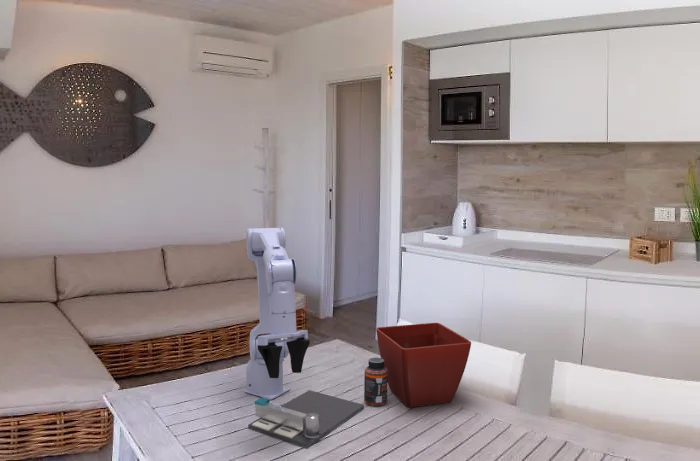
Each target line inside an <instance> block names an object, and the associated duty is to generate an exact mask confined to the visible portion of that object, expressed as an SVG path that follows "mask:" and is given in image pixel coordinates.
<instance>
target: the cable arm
mask: <svg viewBox="0 0 700 461" xmlns="http://www.w3.org/2000/svg"><path fill="white" fill-rule="evenodd" d="M270 401H271V400H270V399H267V398H263V397H260V398H258V399H255V400H254V405H255V406H254V413H255V417H258V418H264V419H267V420H270V421H273V422H276V423H279V424H282V425H286V426H289V427H292V428H295V429H298V430H301V431H304V430H305V429H306V415H307V414H304V413H301V412H298V411H294V410H291V409H288V408H284V407H281V406H282V405H277V404H273V403H270Z"/></svg>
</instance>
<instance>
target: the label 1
mask: <svg viewBox="0 0 700 461" xmlns="http://www.w3.org/2000/svg"><path fill="white" fill-rule="evenodd" d="M278 425H279V423H276V422H273V421H270V420H267V419H264V418H262V419H260V420H258V421H257V422H255V423H253V424H252V426H255V427H258V428H261V429H264V430H267V431H269V430H271V429H273V428H274V427H276V426H278Z"/></svg>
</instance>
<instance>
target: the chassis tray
mask: <svg viewBox="0 0 700 461" xmlns="http://www.w3.org/2000/svg"><path fill="white" fill-rule="evenodd" d="M280 406H281V407H284V408H288V409H291V410H294V411H298V412H301V413H304V414H309V413H316V414H319V431H320V432H321V436H320V437H319V438H317V439H308V438H305V437H304V432H305V431H306V429H305V430H304V431H302V432H300V433H299V434H297V435H296V436H294V437H293V438H289V437H286V436H283V435H280V434H277V433H274V431H275V430H277V429H279V428H280V427H282V426H283V425H282V424H279V425H278V426H276V427H274V428H273V429H271V430H269V431H267V430H264V429H261V428H258V427H255V426H252V424H253V423H255V422H257V421H258V420H260V419H262V418H260V417H258V419H256V420H254V421H252V422H250V423H249V424H248V425H247V428H248V429H249V430H251V431H253V432H257V433H260V434H263V435H266V436H269V437H272V438H274V439H277V440H280V441H284V442H286V443H289V444H293V445H295V446H299V447H302V448H304V449H310V447H312V446H313V445H315V444H316V443H317V442H319V441H320V440H322V439H323V438H324V437H326V436H327V435H328V434H330V433H331V432H333V431H334V430H337V428H338V427H341V425H343V424H344V423H346V422H347V421H349V420H350V419H351V418H353V417H354V416H356V415H357V414H358V413H360V412H361V411H362V410H364V409H365V404H363V403H359V402H355V401H352V400H348V399H343V398H341V397H337V396H333V395H328V394H326V393H322V392H318V391H315V390H311V389H309V390H307V391H305V392H303V393H301V394H300V395H298V396H296V397H294V398H293V399H290V401H287V402H286V403H283V404H281V405H280Z"/></svg>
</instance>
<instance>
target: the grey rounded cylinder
mask: <svg viewBox="0 0 700 461" xmlns="http://www.w3.org/2000/svg"><path fill="white" fill-rule="evenodd" d="M320 436H321V432H320V431H319V414H316V413H309V414H307V415H306V431H305V432H304V437H305V438H308V439H317V438H319V437H320Z"/></svg>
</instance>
